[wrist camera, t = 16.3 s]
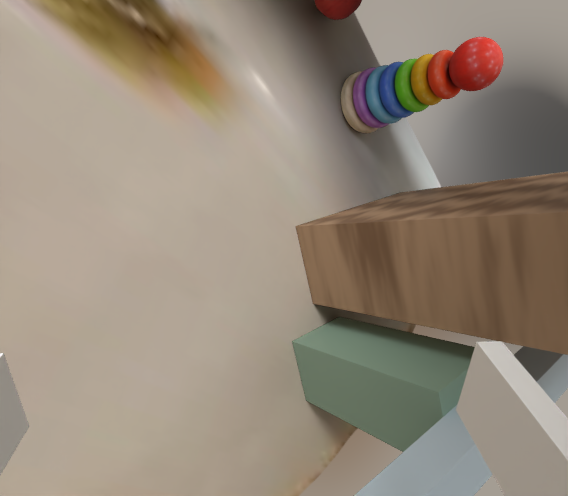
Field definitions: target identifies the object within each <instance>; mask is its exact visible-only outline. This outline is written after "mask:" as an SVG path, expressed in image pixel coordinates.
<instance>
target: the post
mask: <svg viewBox="0 0 568 496" xmlns="http://www.w3.org/2000/svg"><path fill="white" fill-rule="evenodd" d="M292 343H293V347H294V351H295V355H296V360H297V364H298V368H299V372H300V376H301V381H302V385H303V389H304V393H305V397H306V401H308V402H310V403H312V404H314V405H315V406H317V407H319V408H321V409H323V410H325V411H327V412H329V413H331V414H332V415H334V416H336V417H338V418H340V419H342V420H344V421H346V422H348V423H349V424H351V425H353V426H355V427H357V428H359V429H361V430H363V431H365V432H367V433H368V434H370V435H372V436H374V437H376V438H378V439H380V440H382V441H384V442H385V443H387V444H389V445H391V446H393V447H395V448H397V449H399V450H400V451H402V452H404V451H405V450H406V449H407V448H409V447H410V446H411V445H412V444H413V443H414V442H415V441H416V440H418V439H419V438H420V437H421V436H422V435H423V434H424V433H426V432H427V431H428V430H429V429H430V428H431V427H432V426H434V425H435V424H436V423H437V422H438V421H439V420H440V419H441V418H443V417H444V416H445V415H446V414H447V413H448V412H449V411H451V410H452V409H453V408H454V407H455V406H456V405H457V404H458V401H459V398H460V395H461V391H462V388H463V385H464V381H465V378H466V375H467V372H468V368H469V365H470V362H471V358H472V355H473V352H474V348H475V347H472V346H467V345H463V344H458V343H454V342H449V341H445V340H440V339H436V338H431V337H427V336H422V335H418V334H414V333H409V332H405V331H401V330H396V329H392V328H387V327H383V326H378V325H374V324H369V323H365V322H361V321H356V320H352V319H347V318H343V317H338V318H336V319H334V320H332V321H330V322H329V323H327V324H325V325H323V326H321V327H319V328H317V329H315V330H313V331H311V332H309V333H307V334H305V335H304V336H302V337H300V338H298V339H296V340H294V341H292Z"/></svg>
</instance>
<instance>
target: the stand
mask: <svg viewBox="0 0 568 496" xmlns="http://www.w3.org/2000/svg"><path fill="white" fill-rule="evenodd" d="M296 229H297V234H298V238H299V243H300V247H301V252H302V256H303V261H304V265H305V270H306V274H307V278H308V283H309V287H310V292H311V296H312V301H313V304H318V305H323V306H327V307H332V308H337V309H342V310H347V311H352V312H357V313H362V314H367V315H372V316H377V317H382V318H387V319H392V320H397V321H402V322H407V323H412V324H417V325H422V326H427V327H432V328H437V329H442V330H447V331H451V332H456V333H461V334H467V335H471V336H477V337H481V338H486V339H491V340H496V341H502V342H506V343H511V344H516V345H521V346H526V347H531V348H536V349H541V350H546V351H551V352H556V353H560V354H565V355H568V172H562V173H554V174H545V175H538V176H529V177H522V178H513V179H505V180H497V181H489V182H481V183H474V184H465V185H457V186H449V187H441V188H433V189H425V190H417V191H409V192H401V193H397V194H394V195H391V196H388V197H385V198H382V199H379V200H376V201H373V202H369V203H366V204H363V205H360V206H357V207H354V208H351V209H348V210H345V211H342V212H338V213H335V214H332V215H329V216H326V217H323V218H320V219H317V220H314V221H311V222H307V223H304V224H301V225H298V226H296Z"/></svg>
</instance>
